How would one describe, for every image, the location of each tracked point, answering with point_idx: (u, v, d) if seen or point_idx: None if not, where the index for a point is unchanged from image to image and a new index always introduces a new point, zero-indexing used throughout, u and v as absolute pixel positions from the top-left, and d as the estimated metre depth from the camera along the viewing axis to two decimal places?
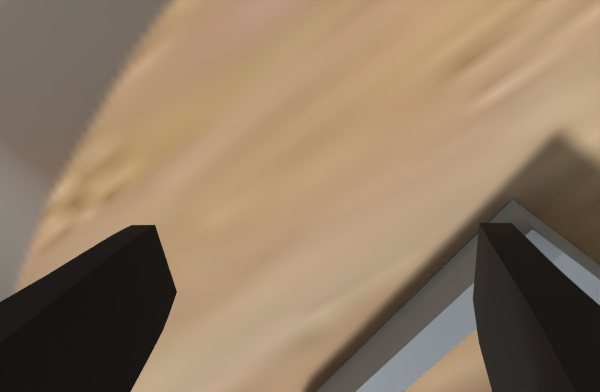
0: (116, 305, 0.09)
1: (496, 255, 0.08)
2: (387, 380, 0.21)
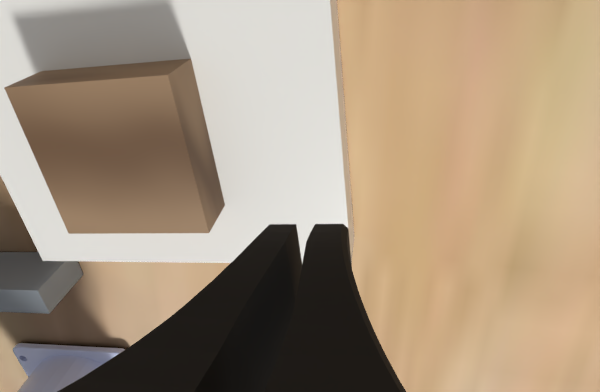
0: (277, 310, 0.09)
1: (305, 254, 0.09)
2: None
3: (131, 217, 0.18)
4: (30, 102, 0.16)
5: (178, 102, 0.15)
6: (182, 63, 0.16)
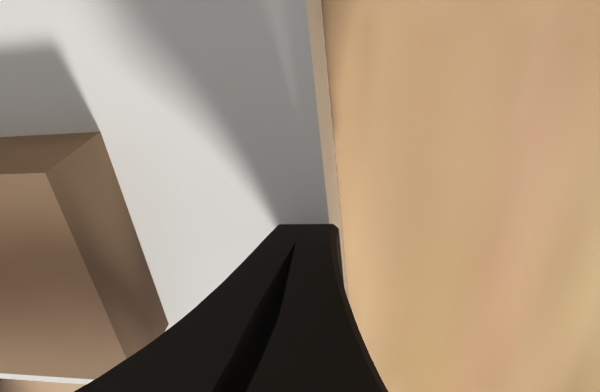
0: None
1: (293, 254, 0.09)
2: None
3: (24, 356, 0.12)
4: None
5: (71, 210, 0.10)
6: (82, 143, 0.10)
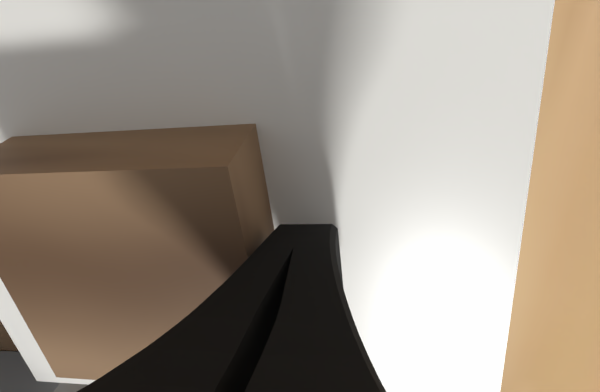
0: None
1: (293, 254, 0.09)
2: None
3: None
4: None
5: (241, 207, 0.09)
6: (244, 135, 0.09)
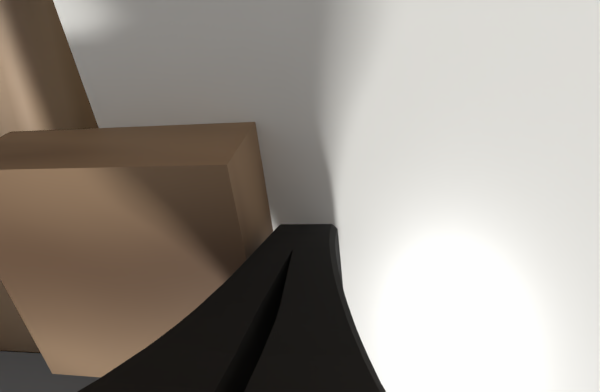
0: None
1: (292, 254, 0.09)
2: None
3: None
4: None
5: (240, 205, 0.09)
6: (244, 133, 0.09)
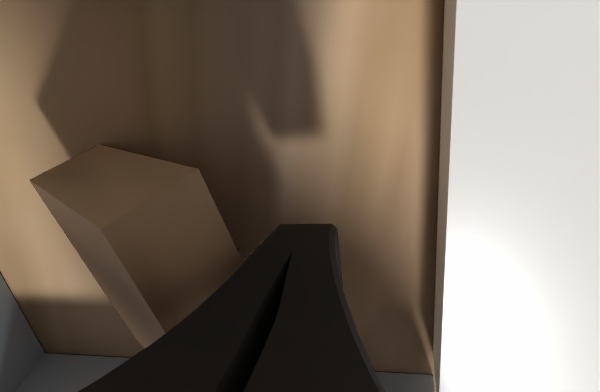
0: None
1: (292, 254, 0.09)
2: None
3: None
4: (48, 203, 0.12)
5: (141, 265, 0.08)
6: (168, 185, 0.08)
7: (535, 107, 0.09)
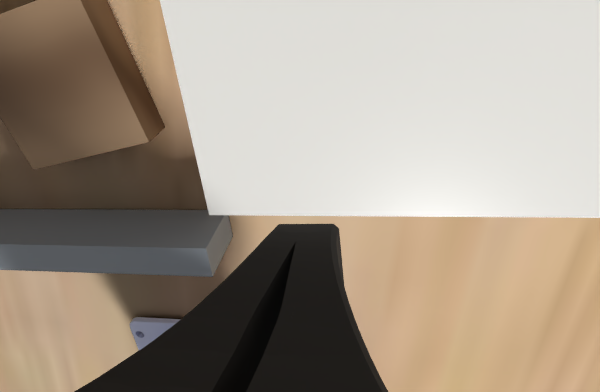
0: None
1: (293, 254, 0.09)
2: None
3: (80, 140, 0.19)
4: None
5: (91, 14, 0.17)
6: None
7: None
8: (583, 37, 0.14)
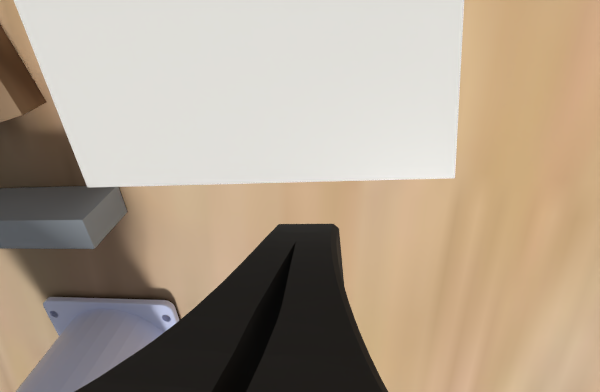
0: None
1: (293, 254, 0.09)
2: None
3: None
4: None
5: None
6: None
7: None
8: None
